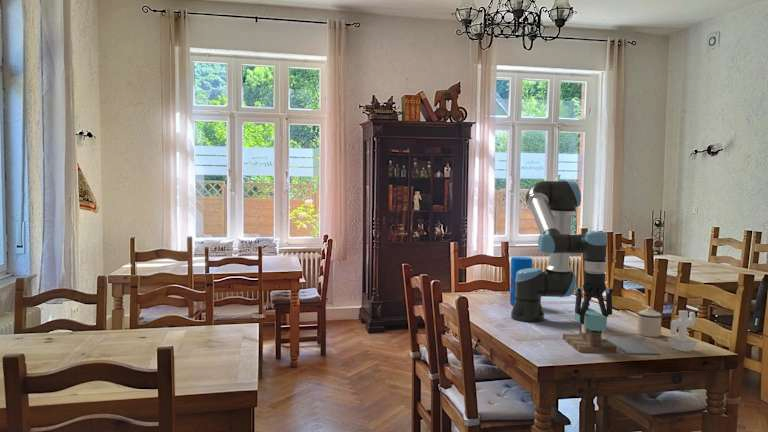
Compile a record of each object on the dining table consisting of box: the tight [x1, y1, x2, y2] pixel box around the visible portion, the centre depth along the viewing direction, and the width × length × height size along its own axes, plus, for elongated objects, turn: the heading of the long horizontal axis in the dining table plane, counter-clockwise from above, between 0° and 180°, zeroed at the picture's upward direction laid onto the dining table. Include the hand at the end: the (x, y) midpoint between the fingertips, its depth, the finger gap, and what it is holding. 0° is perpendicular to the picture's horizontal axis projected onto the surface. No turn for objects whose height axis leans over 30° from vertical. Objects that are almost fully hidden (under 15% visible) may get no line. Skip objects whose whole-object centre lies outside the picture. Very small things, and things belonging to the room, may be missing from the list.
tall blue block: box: [509, 256, 533, 307], centre depth 279 cm, size 11×11×25 cm
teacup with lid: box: [637, 306, 663, 338], centre depth 225 cm, size 12×9×12 cm
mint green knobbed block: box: [574, 307, 608, 332], centre depth 206 cm, size 16×6×5 cm, turn 0°
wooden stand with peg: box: [562, 302, 618, 353], centre depth 206 cm, size 18×14×16 cm
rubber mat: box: [604, 337, 661, 356], centre depth 206 cm, size 20×12×1 cm, turn 0°
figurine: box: [667, 310, 698, 352], centre depth 202 cm, size 7×9×15 cm
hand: (592, 332), depth 203 cm, fingers closed on mint green knobbed block, 6 cm apart
